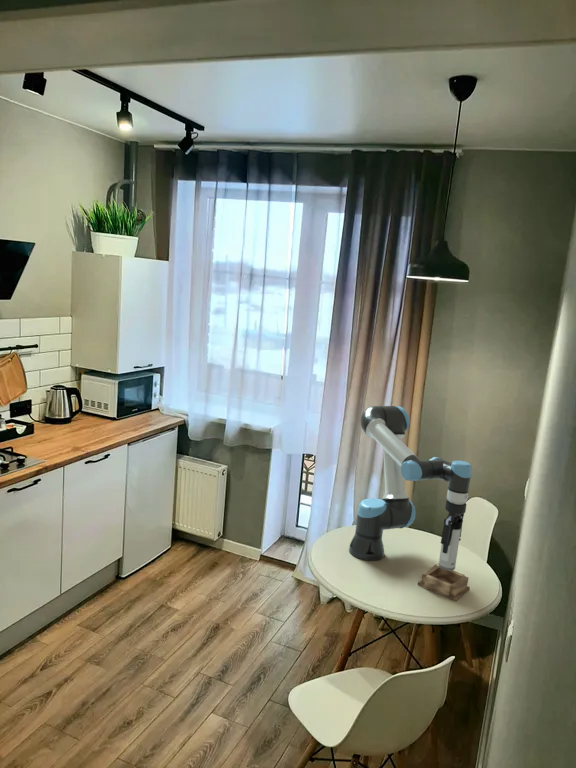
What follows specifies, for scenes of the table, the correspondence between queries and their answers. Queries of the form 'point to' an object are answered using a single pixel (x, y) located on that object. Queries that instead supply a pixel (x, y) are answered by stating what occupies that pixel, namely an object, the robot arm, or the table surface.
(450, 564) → the travel mug
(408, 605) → the table surface
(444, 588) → the holder
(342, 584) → the table surface
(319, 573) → the table surface
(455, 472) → the robot arm
